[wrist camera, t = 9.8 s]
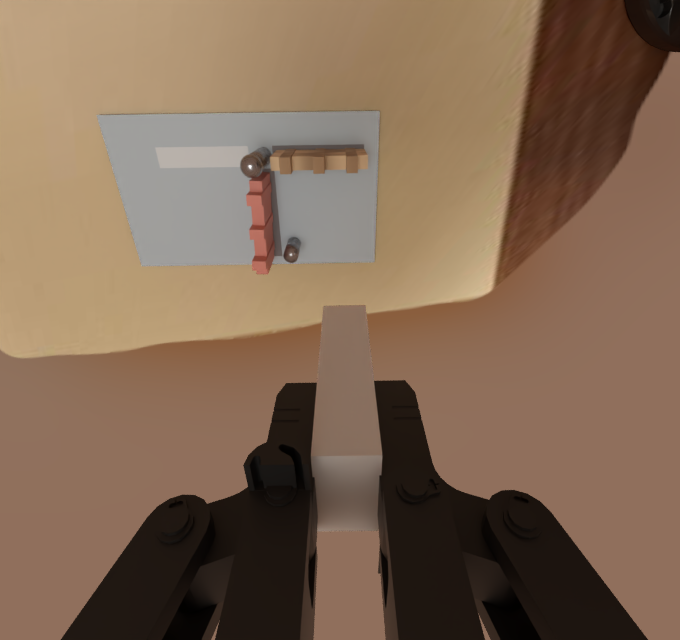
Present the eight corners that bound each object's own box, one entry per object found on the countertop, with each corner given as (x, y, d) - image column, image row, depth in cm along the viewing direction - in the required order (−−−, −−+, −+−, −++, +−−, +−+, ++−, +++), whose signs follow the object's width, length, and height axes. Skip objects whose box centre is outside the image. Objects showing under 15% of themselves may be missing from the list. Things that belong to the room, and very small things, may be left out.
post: (272, 145, 39) (259, 155, 32) (273, 166, 40) (262, 180, 33) (252, 145, 39) (236, 156, 32) (254, 166, 40) (239, 180, 33)
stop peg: (300, 236, 44) (297, 248, 41) (301, 250, 45) (298, 262, 41) (286, 237, 44) (282, 249, 40) (287, 250, 45) (284, 263, 41)
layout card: (379, 110, 38) (379, 110, 37) (374, 260, 46) (374, 262, 46) (98, 114, 38) (96, 115, 37) (143, 265, 46) (141, 266, 45)
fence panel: (257, 171, 40) (244, 183, 34) (270, 172, 40) (260, 184, 35) (263, 256, 45) (253, 279, 39) (275, 257, 45) (267, 279, 39)
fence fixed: (364, 147, 39) (369, 156, 33) (364, 162, 40) (368, 172, 34) (276, 149, 39) (267, 157, 33) (278, 163, 40) (268, 174, 34)
